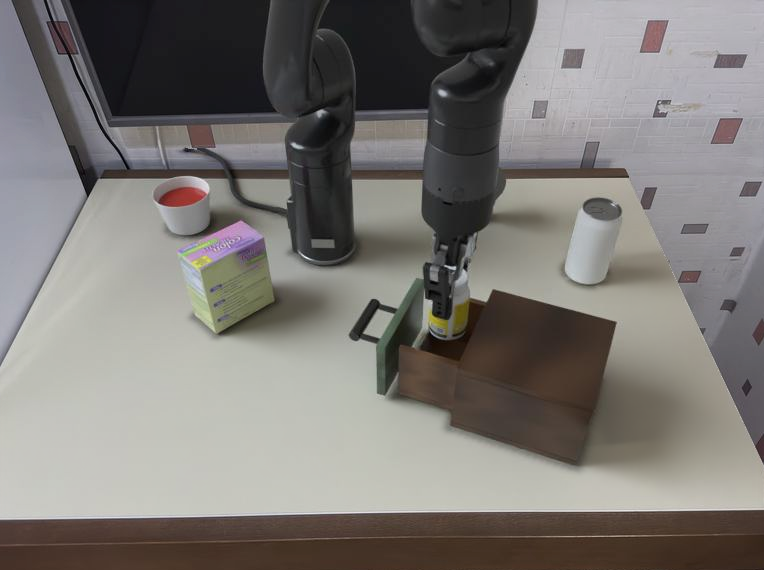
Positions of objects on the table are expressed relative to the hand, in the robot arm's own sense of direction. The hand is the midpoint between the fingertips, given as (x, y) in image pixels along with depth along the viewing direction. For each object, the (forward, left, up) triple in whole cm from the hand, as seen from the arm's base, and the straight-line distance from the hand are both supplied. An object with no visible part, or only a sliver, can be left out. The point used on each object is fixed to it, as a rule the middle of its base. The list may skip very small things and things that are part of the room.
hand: (448, 301), depth 80 cm
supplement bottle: (0, 0, -5) cm, 5 cm away
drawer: (-2, 0, -12) cm, 13 cm away
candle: (-51, +16, -14) cm, 55 cm away
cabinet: (+11, 0, -13) cm, 18 cm away
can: (+13, +29, -14) cm, 35 cm away
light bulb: (-6, +37, -14) cm, 40 cm away
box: (-33, +1, -14) cm, 35 cm away
